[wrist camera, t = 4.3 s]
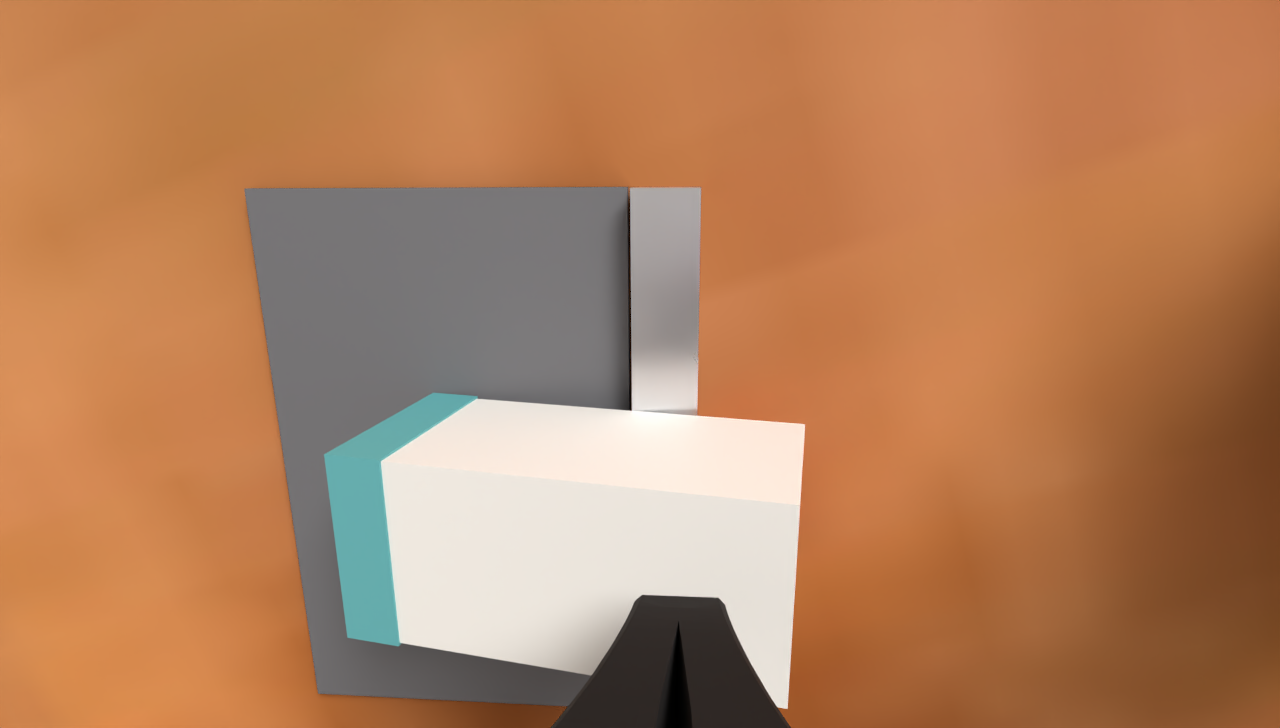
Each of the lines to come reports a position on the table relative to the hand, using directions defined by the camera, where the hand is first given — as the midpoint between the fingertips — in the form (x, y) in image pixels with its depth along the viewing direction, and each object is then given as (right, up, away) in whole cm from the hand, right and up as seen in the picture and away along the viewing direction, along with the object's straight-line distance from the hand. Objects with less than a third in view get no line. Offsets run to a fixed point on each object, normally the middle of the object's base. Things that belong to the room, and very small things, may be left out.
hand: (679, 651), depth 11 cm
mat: (-5, +2, +7) cm, 9 cm away
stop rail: (0, +2, +7) cm, 7 cm away
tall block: (+2, +1, +3) cm, 4 cm away
